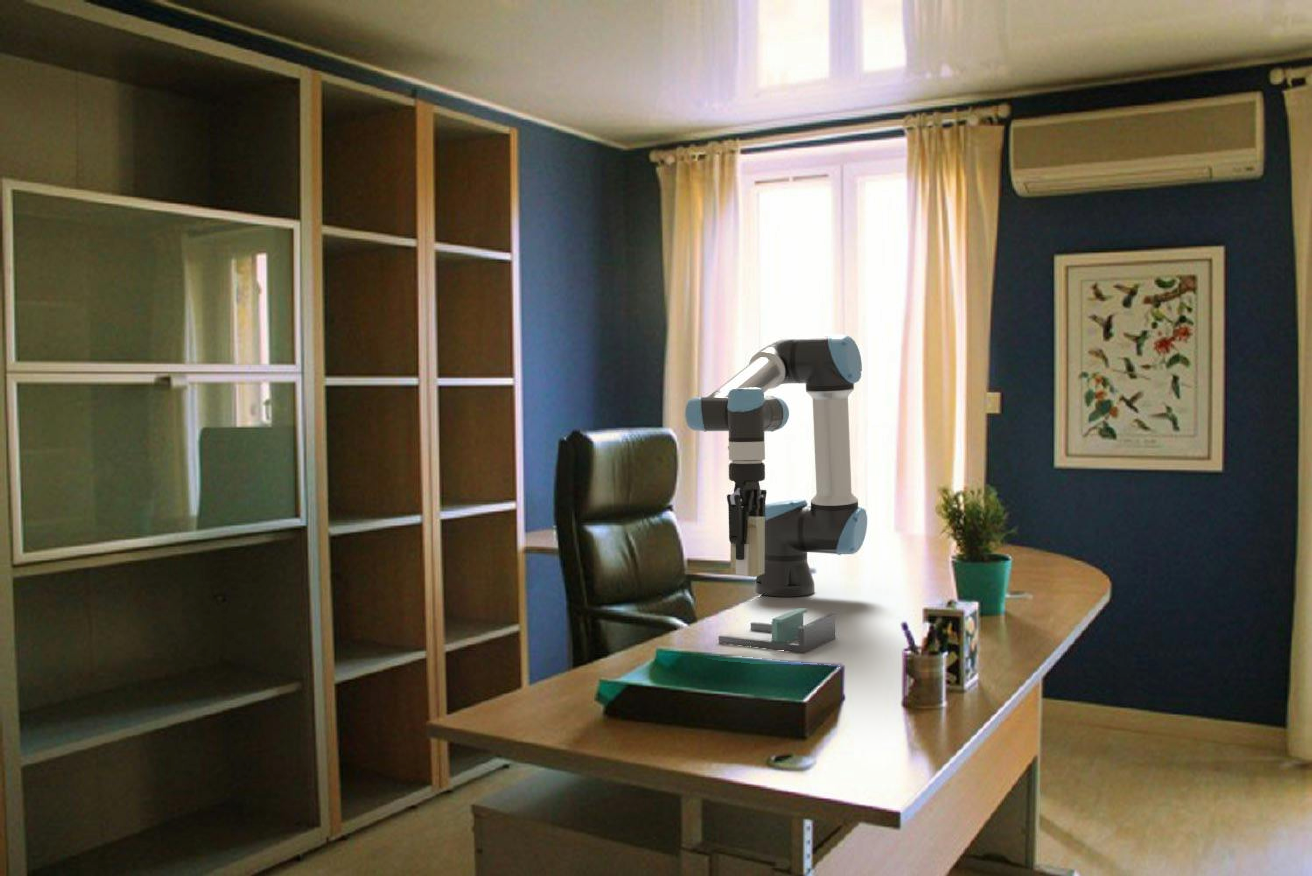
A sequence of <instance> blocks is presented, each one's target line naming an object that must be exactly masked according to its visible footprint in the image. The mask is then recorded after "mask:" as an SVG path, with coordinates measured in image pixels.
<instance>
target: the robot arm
mask: <svg viewBox="0 0 1312 876" xmlns="http://www.w3.org/2000/svg"><path fill="white" fill-rule="evenodd" d="M862 371H863V364H862V357H861V354H860V349H859V347H858V345H857V343H856V341H855V340H854V339H853V337H851V336H850V335H846V334H825V335H823V334H821V335H803V336H802V335H801V336H800V335H797V336H789V337H786V338H782V339H779V340H778V341H775V342H772V343H771V344H768V345H767V346H765V347H764V348H762V349H760V350H759V351H757V352H756V353H755V354H754V355H753V356H752V357H751V359H750V360H749V362H748V365H746V366H745V367H744V368H743V369H741V370H740V371H739V372H737V373H736V374H735V375H734V376H732V377H731V378H730V379H728V380H727V381H726V382H724V384H722V385H720V387H718V388H717V389H716V390H714V392H712V393H711V394H710V395H708V396H698V397H692V398H690V399H689V400H688V401H687V403H686V405H685V412H684V415H685V416H684V417H685V421H686V425H687V426H688V428H689V429H690V430H691V431H697V432H728V446H727V450H728V460H729V461H731V462H730V463H729V464H728V479H729V481H731V482H734V488H733V493H732V494H729V493H728V494H726V501H727V505H728V506H727V507H728V539H729V542H730V545H731V544H735V555H736V575H735V576H743V577H744V576H745V577H749V576H748V575H749V544H746V540H747V529H748V518H749V516H756V517H757V516H760V517H765V561H764V574H762V575H759V576H756V577H755V578H756V579H755V582H754V592H755V593H756V594H758V595H762V596H768V597H769V596H770V597H783V598H784V597H785V598H787V597H788V598H790V597H802V596H808V595H813V594H815V580H814V578H813V574H812V572H811V570H810V565H809V563H808V562H809V561H808V553H815V554H817V553H819V554H829V555H830V554H831V555H838V556H841V555H855V554H856V553H858V552H859V551H860V550H861V547H862V546H863V544H864V541H865V540H866V539H865V538H866V535H867V529H868V514H867V510H866V509H865V508H863V507H860V506H859V499H858V498H857V497H856V496H855V495H854V494H853V492H852V473H851V472H852V471H851V470H852V469H851V443H850V419H849V415H850V414H849V395H850V394H852V392H853V391H854V390H855V383H858V382H859V381H860V380H861V377H862ZM783 384H784V385H786V384H805V392H806V393H807V394H808V395H809V396H810V397H811V398H812V414H813V415H812V417H813V438H814V439H813V442H814V445H813V446H814V465H815V466H814V469H815V490H816V492H815V493H816V494H815V495H814V496H813V497H812V499H810V505H808V504H809V503H808V502H807V500H806V499H792V500H785V501H777V502H770V503H767V504H766V500H767V498H766V497H767V489H761V487H760V486H761V485H760V482H762V481H764V480H765V478H766V464H765V463H764V462H763V461H765V459H766V451H765V449H766V447H765V445H766V443H765V442H766V441H765V432H771V433H772V432H775V431H777V430H780V429H782V428H783V427H784V426H785V425H786V424H787V423H788V420H789V416H790V409H789V407H788V405H787V403H786V402H785V401H784V400H783V399H782V398H780V397H778V396H775V395H766V396H765V393H766V392H767V391H768V390H772V389H776V388H778V387H780V386H781V385H783Z"/></svg>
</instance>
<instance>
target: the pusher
mask: <svg viewBox="0 0 1312 876" xmlns="http://www.w3.org/2000/svg"><path fill="white" fill-rule="evenodd" d="M808 611H809V610H808V608H802V607H798V608H795V609H793V610H791V611H788V612H786V613H784V614H780V615H778V616H776V617H774V618H772V620H771V624H772V632H771V641H777V642H786V643H790V642H791V641H793V640H796V639H798V628H799V627H802V626H804V614H806V613H808Z"/></svg>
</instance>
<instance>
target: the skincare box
mask: <svg viewBox="0 0 1312 876" xmlns="http://www.w3.org/2000/svg"><path fill="white" fill-rule="evenodd" d="M746 544H749V575H748V576H747V577H755V578H757V576H759V575H762V574H764V561H765V517H760V516H757V517H756V516H749V518H748V529H747V540H746ZM729 561H730V575H733V576H734V575H735V576H737V575H736V555H735V544H731V543H730V560H729Z"/></svg>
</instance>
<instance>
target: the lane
mask: <svg viewBox="0 0 1312 876" xmlns="http://www.w3.org/2000/svg"><path fill="white" fill-rule="evenodd" d="M836 630H837V629H836V614H834V613H829V614H827V615H825V616H822V617H819V618H817V619H815V620H813V621H811V622H808V623H805V624H803V626H802V627H799V628H798V638H797V640H798V643H792V642H787V643H786V642H777V641H772V640H769V639H760V638H759V639H758V638H751V637H742V636H736V635H733V636H732V635H726V634H720V635H718V644H721V643H726V644H725V645H729V644H733V645H732V646H737V645H742V646H741V647H745V646H749V647H748V648H753V647H758V648H757V649H761V648H766V649H765V650H769V649H772V650H771V651H777V650H784V651H783V652H785V651H789V652H788V653H794V654H795V653H796V654H802V653H803V655H805V654H807V653H809V652H811V651H813V650H815V649H817V648H818V647H821V646H823V645H824V644H827V643H829V642H831V641H833V640H835V639H836V637H837V635H836ZM750 631H755V632H756V631H758V632H767V633H772V623H765V622H756V621H753V622H750ZM750 646H751V647H750Z"/></svg>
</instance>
